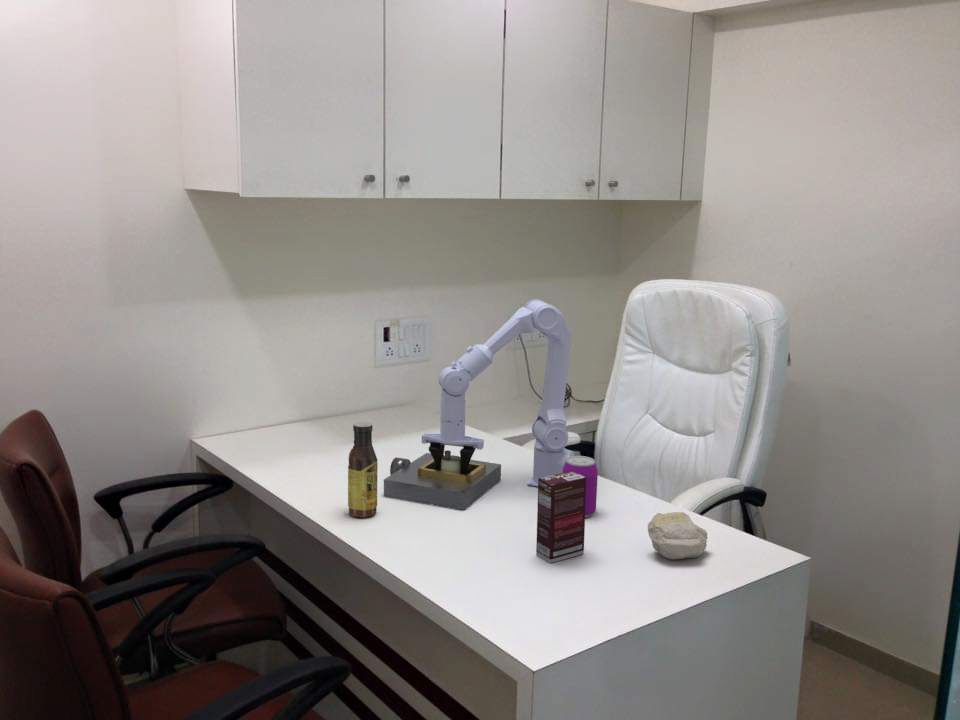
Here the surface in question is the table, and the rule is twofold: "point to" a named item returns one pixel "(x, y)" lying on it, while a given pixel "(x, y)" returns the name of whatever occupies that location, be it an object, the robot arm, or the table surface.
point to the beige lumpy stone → (676, 536)
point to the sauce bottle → (362, 473)
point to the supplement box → (561, 516)
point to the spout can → (451, 463)
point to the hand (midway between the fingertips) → (452, 475)
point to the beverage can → (590, 471)
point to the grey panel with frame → (439, 482)
